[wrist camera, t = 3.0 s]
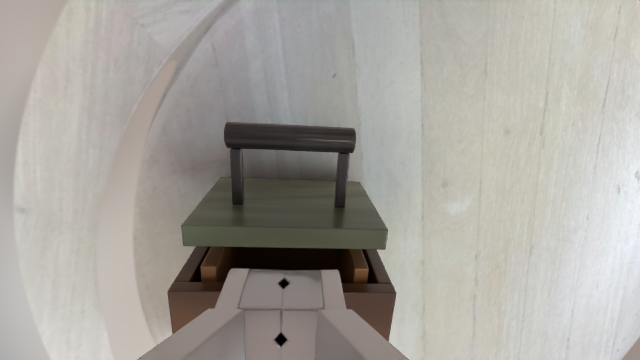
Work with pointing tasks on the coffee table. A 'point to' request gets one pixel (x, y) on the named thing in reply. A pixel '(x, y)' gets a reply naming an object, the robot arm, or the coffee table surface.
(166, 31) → the coffee table surface
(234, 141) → the drawer
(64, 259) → the coffee table surface
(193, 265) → the cabinet
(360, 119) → the coffee table surface
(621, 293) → the coffee table surface
